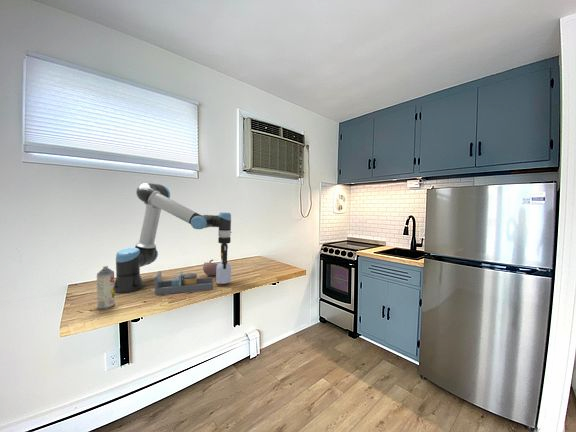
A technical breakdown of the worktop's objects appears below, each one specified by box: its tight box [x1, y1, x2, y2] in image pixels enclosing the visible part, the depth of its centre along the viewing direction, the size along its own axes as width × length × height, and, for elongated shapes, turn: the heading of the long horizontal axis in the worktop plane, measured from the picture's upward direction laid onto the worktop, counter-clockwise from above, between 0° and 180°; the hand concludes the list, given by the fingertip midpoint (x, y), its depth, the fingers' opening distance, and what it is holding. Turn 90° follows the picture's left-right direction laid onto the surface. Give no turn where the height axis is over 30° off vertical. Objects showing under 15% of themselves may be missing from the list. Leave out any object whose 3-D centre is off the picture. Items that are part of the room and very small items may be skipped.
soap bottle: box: [215, 243, 232, 285], centre depth 149 cm, size 9×9×25 cm
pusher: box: [171, 270, 183, 287], centre depth 140 cm, size 5×10×9 cm, turn 20°
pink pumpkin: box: [202, 259, 219, 277], centre depth 168 cm, size 12×12×12 cm
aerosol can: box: [96, 265, 116, 310], centre depth 115 cm, size 7×7×20 cm
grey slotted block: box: [154, 270, 214, 296], centre depth 142 cm, size 31×13×10 cm, turn 110°
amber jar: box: [182, 272, 198, 286], centre depth 142 cm, size 8×8×8 cm
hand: (223, 271), depth 149 cm, fingers closed on soap bottle, 9 cm apart
